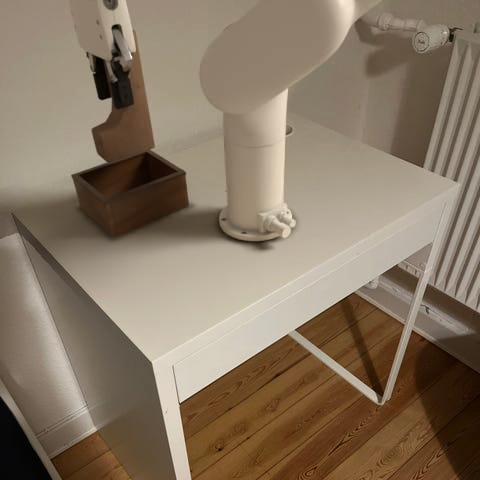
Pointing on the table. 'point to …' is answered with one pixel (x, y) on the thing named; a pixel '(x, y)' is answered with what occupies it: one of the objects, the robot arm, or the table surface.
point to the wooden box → (131, 191)
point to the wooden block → (126, 119)
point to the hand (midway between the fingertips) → (116, 100)
